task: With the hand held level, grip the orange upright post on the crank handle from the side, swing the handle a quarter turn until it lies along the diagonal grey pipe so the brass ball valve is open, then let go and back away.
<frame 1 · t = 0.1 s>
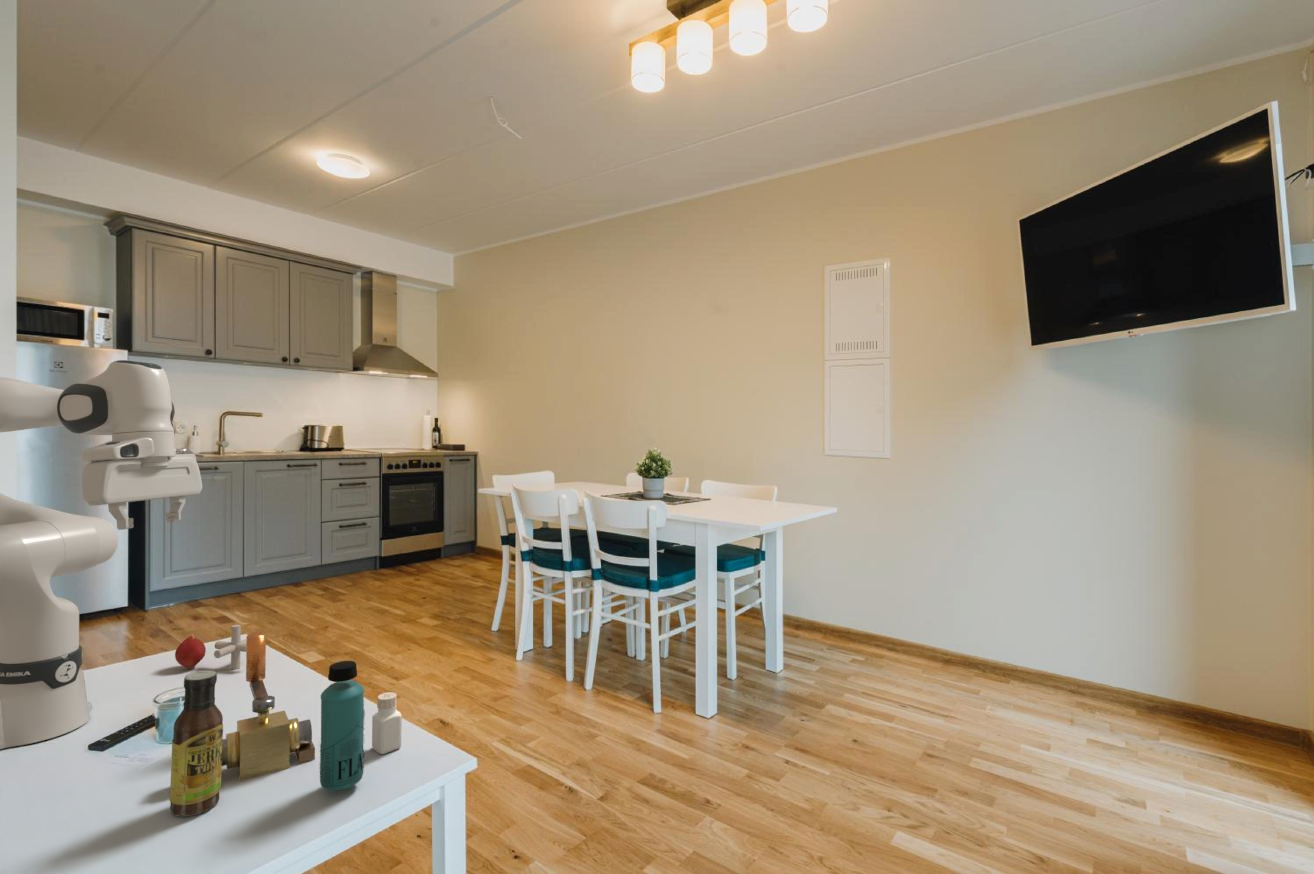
hand: (150, 525, 115), 39 cm above the table, tool pointing down, fingers open, 8 cm apart
beverage bottle: (341, 789, 101), on the table
sauce bottle: (196, 808, 96), on the table
crank handle: (259, 670, 112), point 14 cm above the table, hinge at 0.0°
pipe connector: (235, 668, 150), on the table
onion: (190, 669, 149), on the table
ball valve: (262, 766, 108), on the table
pepper shaker: (386, 749, 114), on the table
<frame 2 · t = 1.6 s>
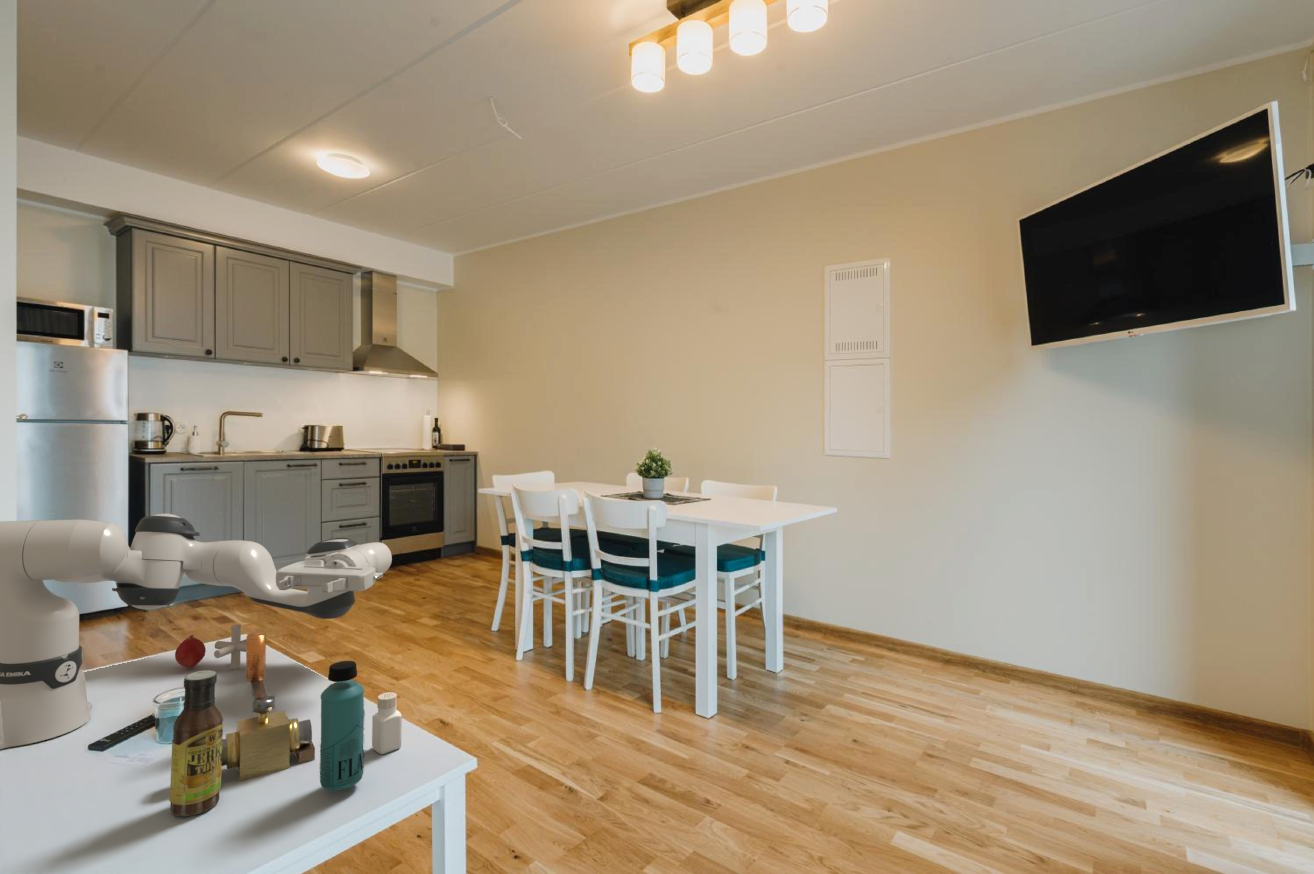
hand: (302, 587, 130), 25 cm above the table, tool horizontal, fingers open, 8 cm apart
nothing on the table moved.
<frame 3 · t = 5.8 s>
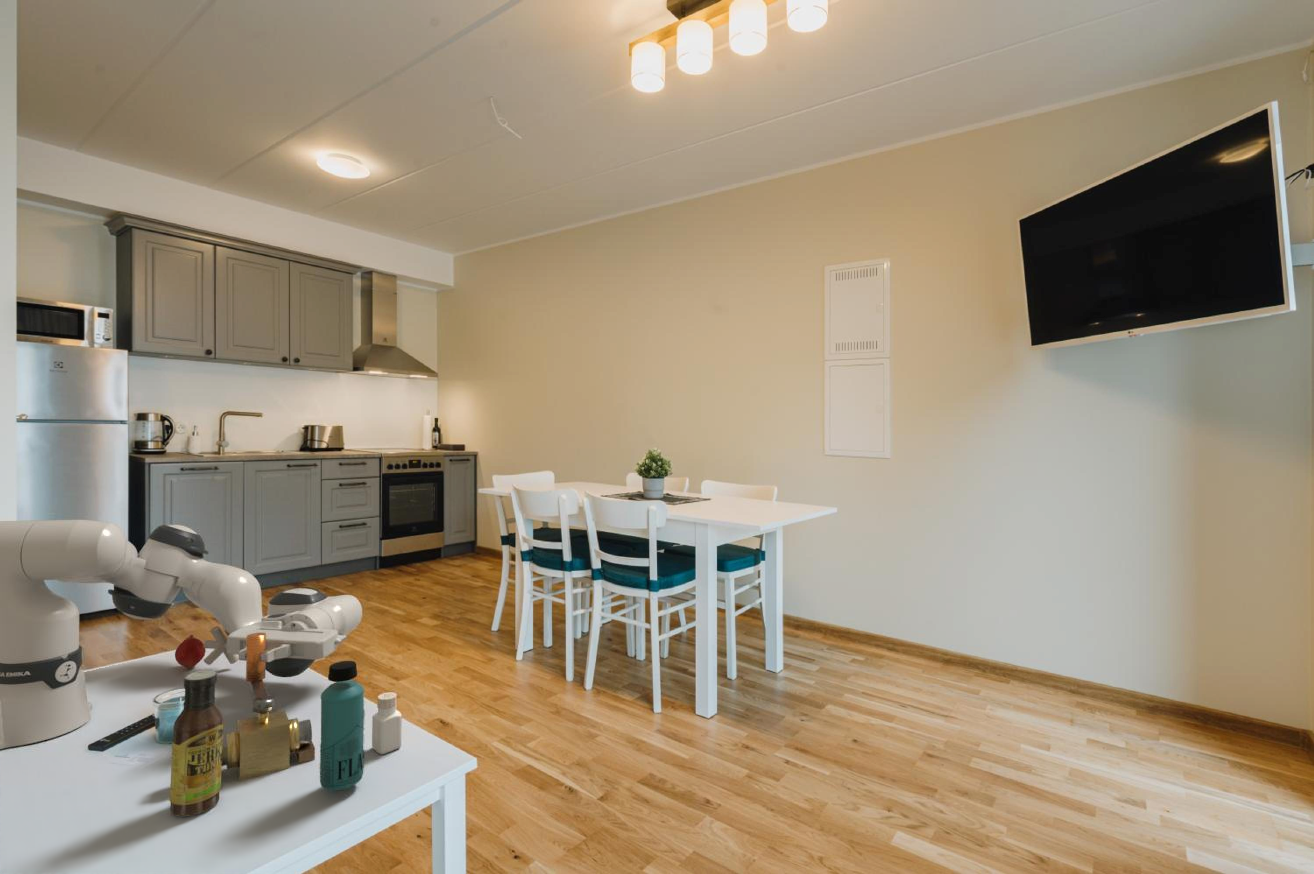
hand: (252, 657, 116), 15 cm above the table, tool horizontal, fingers closed on crank handle, 3 cm apart
crank handle: (259, 670, 112), point 14 cm above the table, hinge at 0.0°, touching gripper
pipe connector: (234, 661, 150), point 2 cm above the table, touching arm
everything else where it was.
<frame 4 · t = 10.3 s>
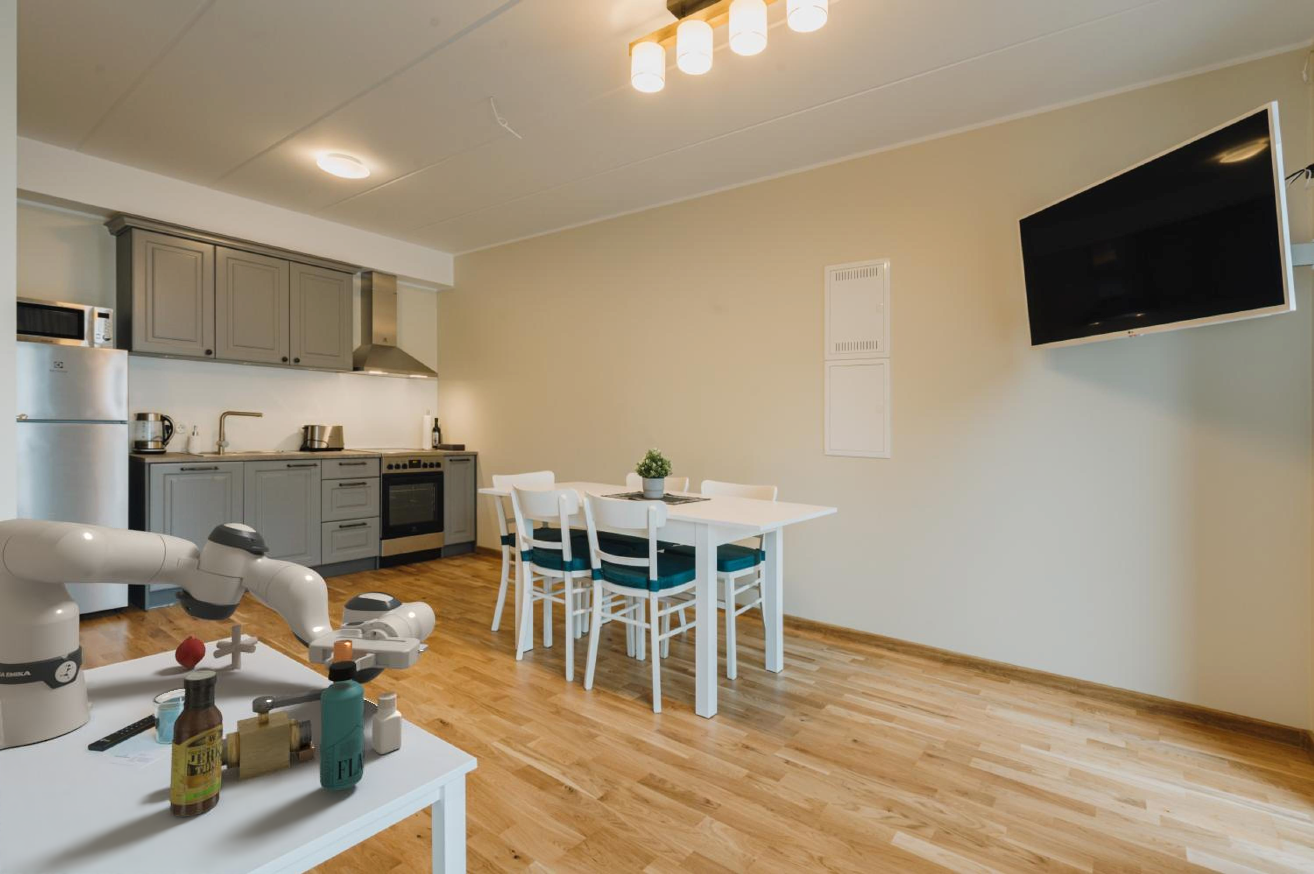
hand: (339, 666, 113), 15 cm above the table, tool horizontal, fingers closed on crank handle, 3 cm apart
crank handle: (304, 674, 111), point 14 cm above the table, hinge at 94.9°, touching gripper
pipe connector: (236, 668, 150), on the table
everything else where it was.
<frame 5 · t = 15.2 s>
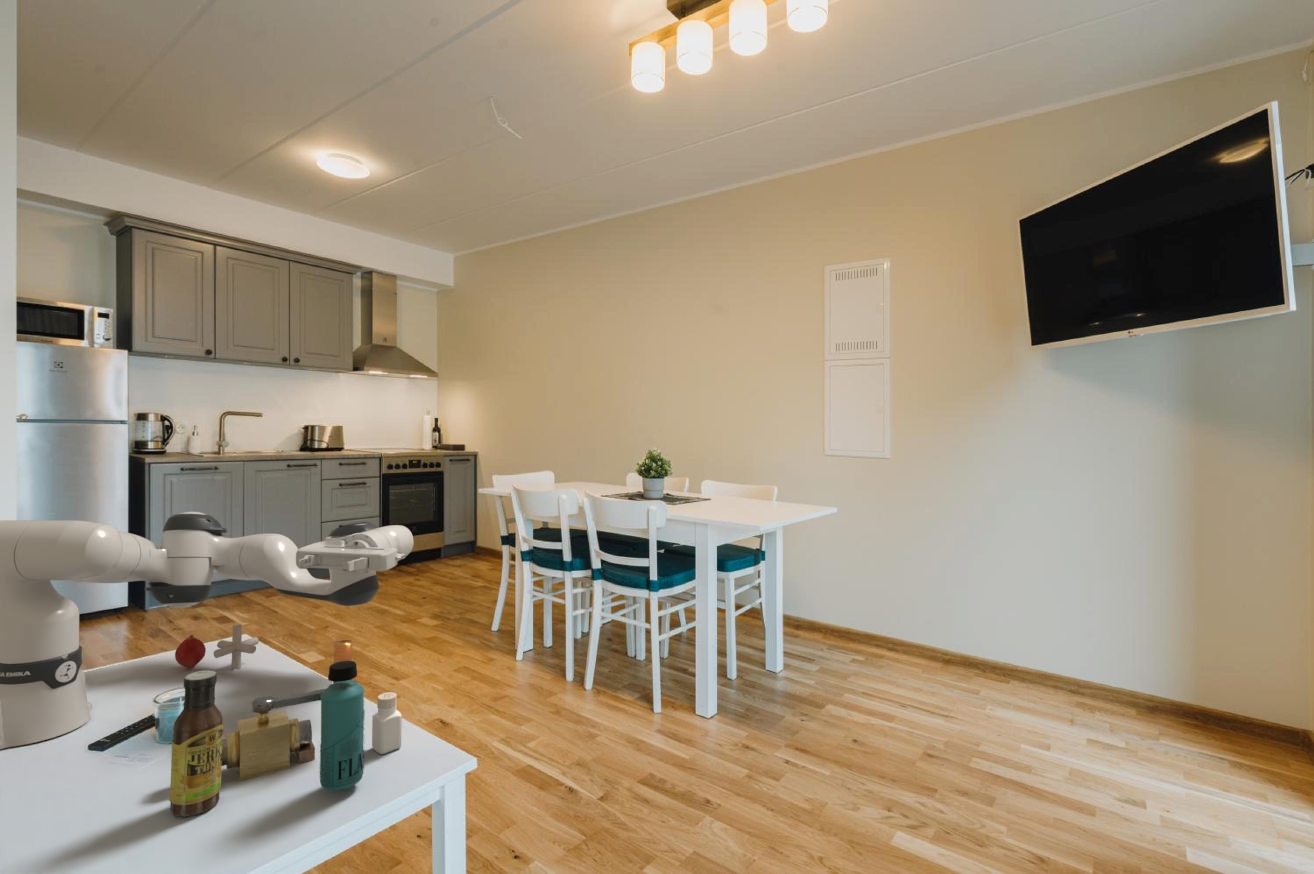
hand: (323, 565, 125), 30 cm above the table, tool horizontal, fingers open, 8 cm apart
crank handle: (304, 674, 110), point 14 cm above the table, hinge at 96.0°
everything else where it was.
at the end: crank handle at +96° (first picture: +0°); the gripper is holding nothing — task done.
